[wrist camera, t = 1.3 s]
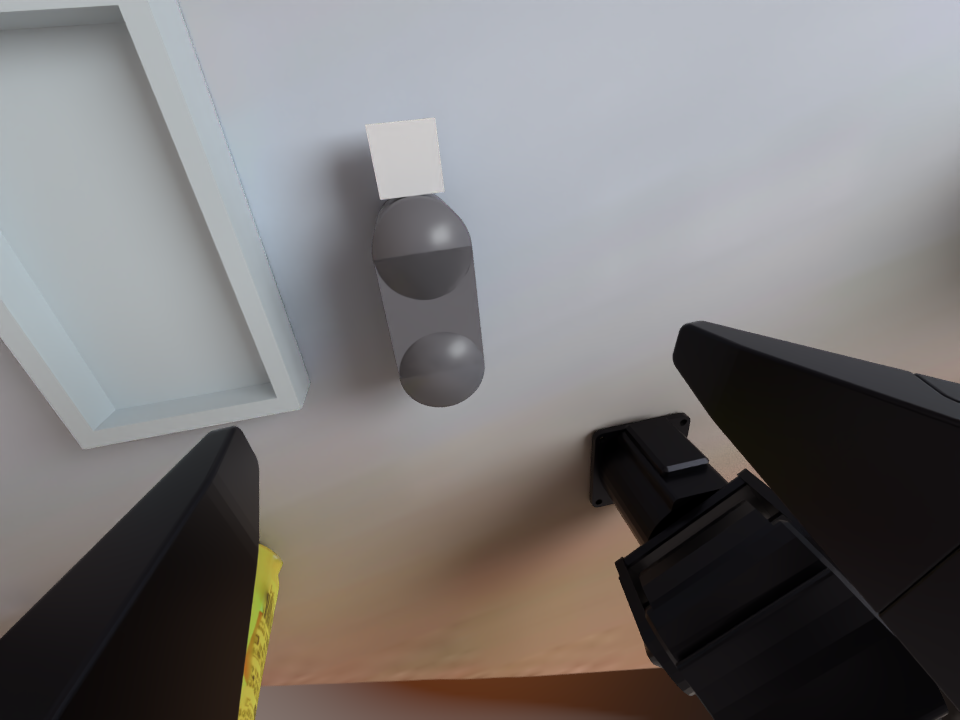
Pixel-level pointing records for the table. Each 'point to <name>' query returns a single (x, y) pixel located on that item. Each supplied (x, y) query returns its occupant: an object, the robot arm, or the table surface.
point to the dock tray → (130, 230)
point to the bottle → (259, 629)
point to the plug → (424, 267)
